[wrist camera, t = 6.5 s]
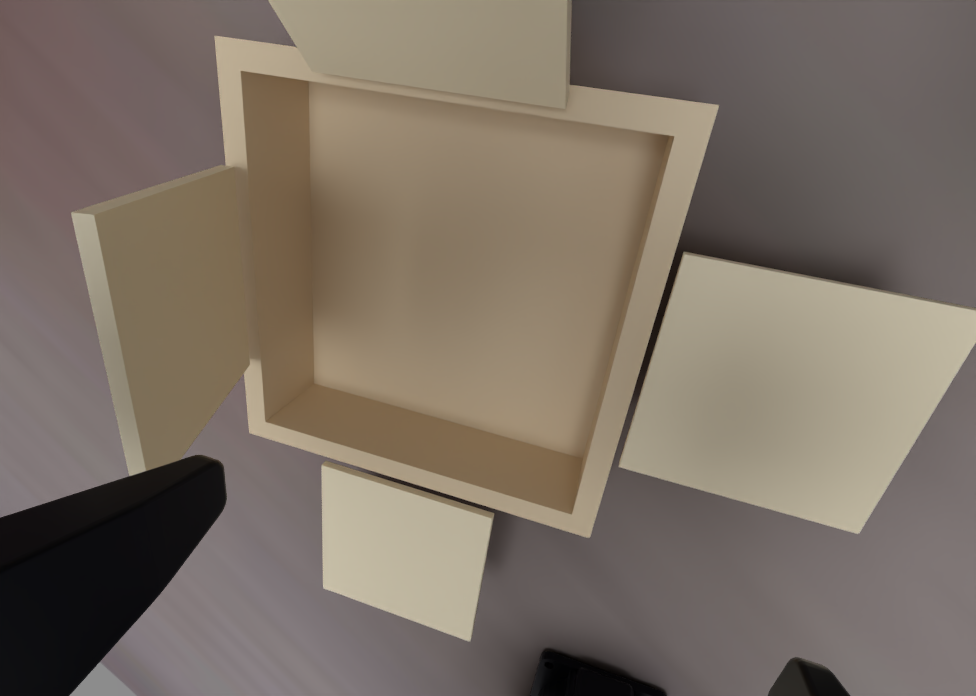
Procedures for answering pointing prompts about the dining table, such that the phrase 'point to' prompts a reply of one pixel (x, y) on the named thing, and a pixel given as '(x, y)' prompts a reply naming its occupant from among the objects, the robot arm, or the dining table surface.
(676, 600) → the dining table surface
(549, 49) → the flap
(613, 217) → the carton
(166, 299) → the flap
